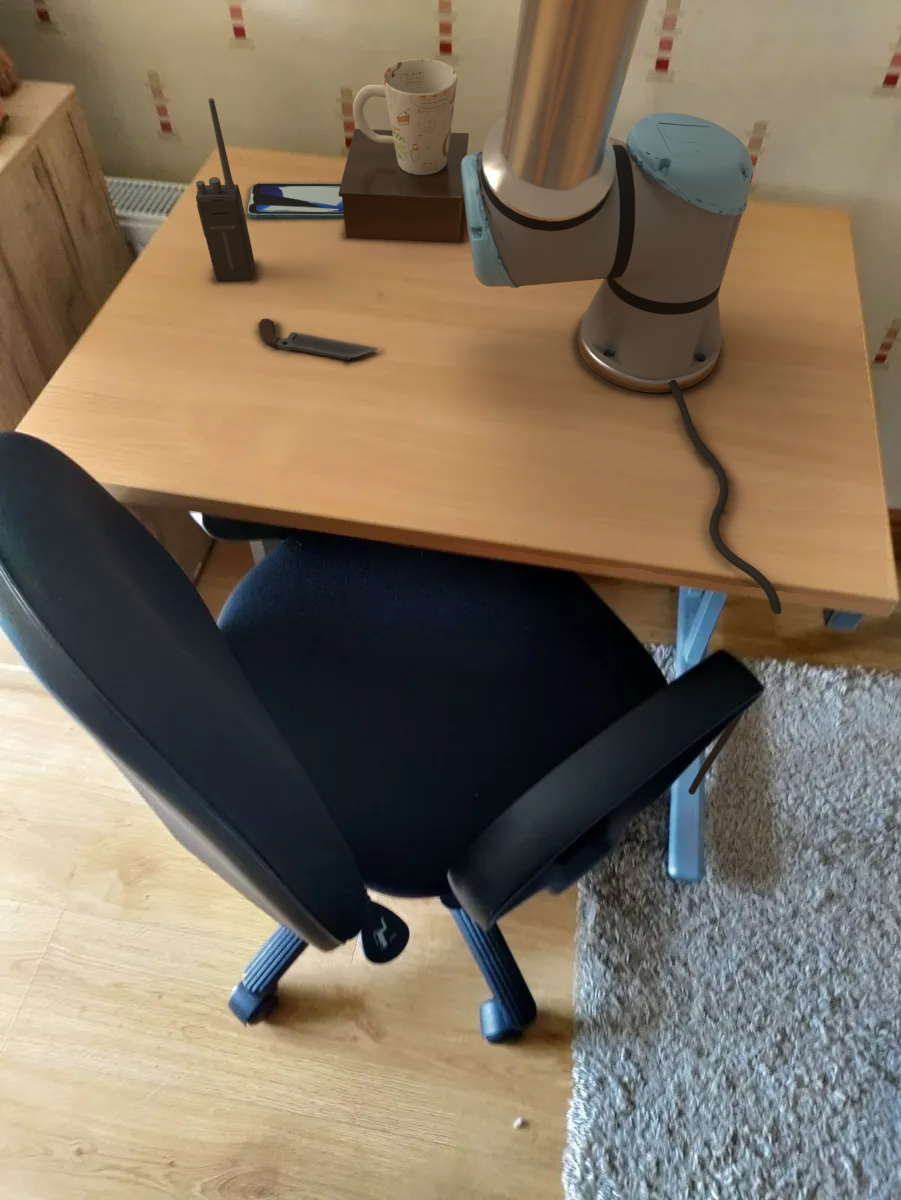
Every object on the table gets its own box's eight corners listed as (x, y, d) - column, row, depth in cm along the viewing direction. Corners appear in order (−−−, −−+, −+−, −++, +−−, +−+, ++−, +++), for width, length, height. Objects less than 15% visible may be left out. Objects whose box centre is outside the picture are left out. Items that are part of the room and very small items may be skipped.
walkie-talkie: (256, 262, 106) (221, 89, 90) (254, 280, 104) (218, 105, 88) (216, 264, 106) (173, 90, 90) (214, 281, 104) (169, 107, 88)
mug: (449, 184, 105) (449, 97, 97) (347, 173, 106) (338, 86, 98) (462, 147, 110) (463, 61, 101) (364, 137, 111) (357, 52, 103)
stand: (461, 243, 108) (461, 197, 103) (343, 238, 109) (338, 192, 104) (468, 178, 117) (468, 132, 112) (358, 174, 117) (354, 128, 112)
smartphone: (365, 215, 111) (246, 214, 111) (366, 222, 112) (247, 221, 112) (367, 183, 115) (252, 182, 115) (367, 190, 116) (253, 189, 116)
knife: (249, 343, 98) (248, 338, 97) (263, 321, 100) (262, 316, 99) (369, 367, 95) (368, 361, 95) (381, 343, 98) (380, 338, 97)
